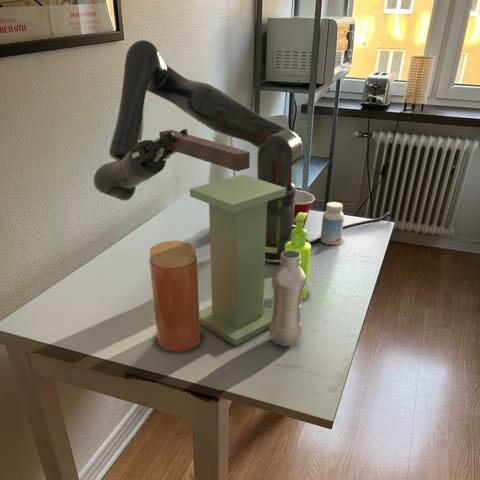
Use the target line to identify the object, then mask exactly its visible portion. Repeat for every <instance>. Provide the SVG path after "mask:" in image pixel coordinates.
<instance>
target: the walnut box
mask: <svg viewBox="0 0 480 480" xmlns="http://www.w3.org/2000/svg"><path fill="white" fill-rule="evenodd" d="M168 132H172V133H173V136H174V139H175V142H174V143H173V144H172V145H170V146H169V147H168V148H166V149H170V150H173V151H176V153H178V154H182V155H185V156H188V157H191V158H194V159H197V160H200V161H204V162H206V163H209V164H210V163H211V164H212V165H216V166H219V167H222V168H226V169H229V170H232V171H234V172H240V171H244V170H248V169H250V166H251V165H250V161H251V151H249V150H245V149H242V148H237V147H234V146H231V145H227V144H224V143H220V142H216V141H213V140H209V139H206V138H202V137H199V136H195V135H190V134H189V135H188V134H184V133H181V132H180V131H177V130H173V129H168V130H163V131H159V138H161V137H163V136H164V135H165V134H166V133H168Z"/></svg>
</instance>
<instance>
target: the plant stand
mask: <svg viewBox="0 0 480 480" xmlns="http://www.w3.org/2000/svg"><path fill="white" fill-rule="evenodd" d="M285 195H286V188H284V187H281V186H278V185H275V184H272V183H268V182H265V181H262V180H259V179H257V177H256V178H255V177H252V176H249V175H246V174H239V175H235V176H231V177H228V178H224V179H221V180H220V179H219V180H217V181H213V182H210V183H206V184H202V185H197V186H195V187H191V188H189V197H191V198H193V199H196V200H198V201H201V202H203V203H206V204H208V211H209V212H208V215H209V248H210V249H209V251H210V280H211V281H210V283H211V285H210V286H211V287H210V288H211V305H208V306H207V307H204V308H202V309H199V315H200V325H202V326H204V327H205V328H207V329H208V330H210V331H211V332H213V333H215V334H216V335H218V336H219V337H221V338H222V339H223V340H225V341H227V342H229V343H230V344H232V345H233V346H238V345H241V344H242V343H243V342H245V341H247V340H250V339H251V338H253V337H255V336H257V335H258V334H260V333H262V332H264V331H266V330H269V328H270V323H271V320H272V315H273V310H272V309H270V308H269V307H267V306H265V305H264V289H265V265H266V262H265V242H266V216H267V201H270V200H273V199H276V198H279V197H282V196H285Z"/></svg>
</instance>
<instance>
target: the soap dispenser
mask: <svg viewBox="0 0 480 480" xmlns="http://www.w3.org/2000/svg"><path fill="white" fill-rule="evenodd" d="M307 215H308V216H309V213H302V212H299V213H298V214H297V216H296V218H295V222H296V228H295V229H293V230H292V233H291V241H289V242H287V243H286V244H285V251H287V250H293V251H297V252H299V253H300V255H301V258H300V260H301V264H300V265H299V266H300V267H301V269H302V270H303V272H304V273H305V276H306V285H305V289H304V292H303V296H302V301H303V300H304V299H306V298H307V293H308V282H309V270H310V261H311V249H312V244H309V243H307V242H306V238H307V232H308V231H307V230H306V229H305V228H304V229H303V224H304V220H305V218H306V216H307Z"/></svg>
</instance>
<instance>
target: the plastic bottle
mask: <svg viewBox="0 0 480 480" xmlns="http://www.w3.org/2000/svg"><path fill="white" fill-rule="evenodd" d="M300 258H301V255H300V253H299V252H297V251H293V250H287V251H283V252H282V253H281V259H280V263H279V264H280V266H278V267H277V269H276V270H275V271H274V272H273V273H274V274H273V276H272V290H273V310H272V311H273V315H272V320H271V323H270V328H268V332H269V338H270V340H271V341H272V342H273V343H274V344H276V345H279V346H282V347H289V346H293V345H295V344H297V342H298V341H299V340H300V338H301V335H302V323H301V309H302V301H303V300H302V296H303V292H304V289H305V285H306V276H305V273H304V272H303V270H302V269H301V267H300V266H299V265H300V264H301V260H300Z"/></svg>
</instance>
